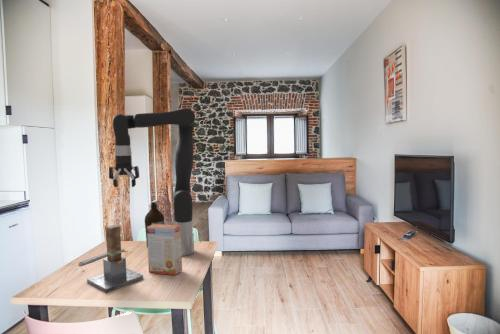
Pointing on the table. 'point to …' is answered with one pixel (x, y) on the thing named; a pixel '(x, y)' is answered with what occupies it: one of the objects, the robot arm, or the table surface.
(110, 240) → the post
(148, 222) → the olive oil
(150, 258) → the cracker box
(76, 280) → the table surface
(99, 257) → the adjustable wrench
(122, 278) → the stand
